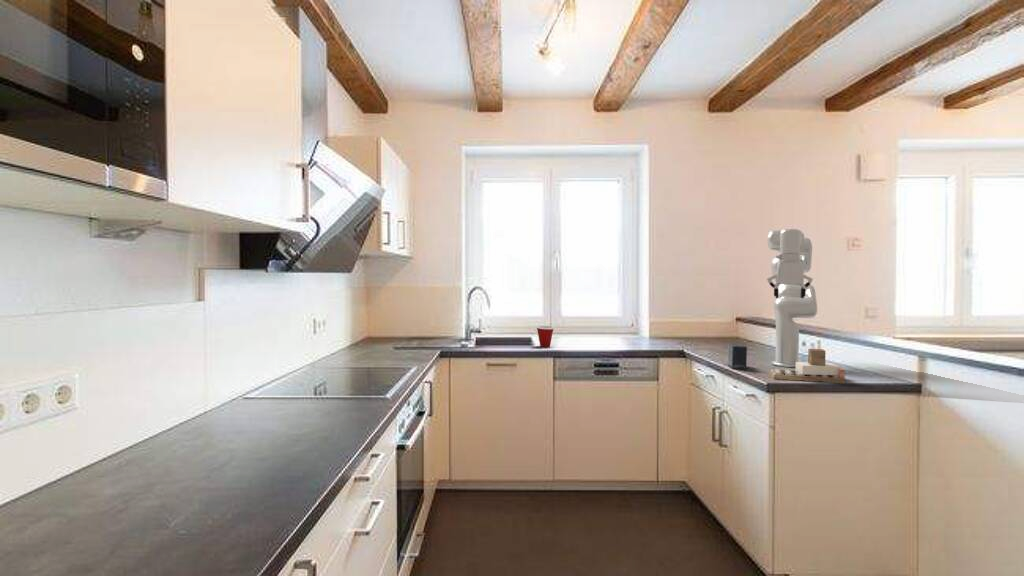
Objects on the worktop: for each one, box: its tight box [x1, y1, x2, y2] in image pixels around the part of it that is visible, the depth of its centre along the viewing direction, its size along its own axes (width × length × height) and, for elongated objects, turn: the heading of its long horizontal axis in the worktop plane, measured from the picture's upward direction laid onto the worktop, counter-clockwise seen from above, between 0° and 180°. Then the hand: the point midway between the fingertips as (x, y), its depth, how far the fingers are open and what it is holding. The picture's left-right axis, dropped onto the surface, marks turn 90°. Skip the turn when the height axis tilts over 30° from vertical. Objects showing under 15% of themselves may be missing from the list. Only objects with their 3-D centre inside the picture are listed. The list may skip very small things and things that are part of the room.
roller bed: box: [769, 364, 846, 384], centre depth 211 cm, size 12×25×5 cm, turn 69°
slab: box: [795, 361, 839, 375], centre depth 210 cm, size 8×13×4 cm, turn 78°
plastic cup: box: [535, 324, 555, 348], centre depth 303 cm, size 11×11×12 cm
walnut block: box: [807, 348, 826, 366], centre depth 209 cm, size 5×5×6 cm
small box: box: [727, 342, 748, 370], centre depth 235 cm, size 11×6×10 cm, turn 168°
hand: (789, 298), depth 221 cm, fingers open, 9 cm apart
